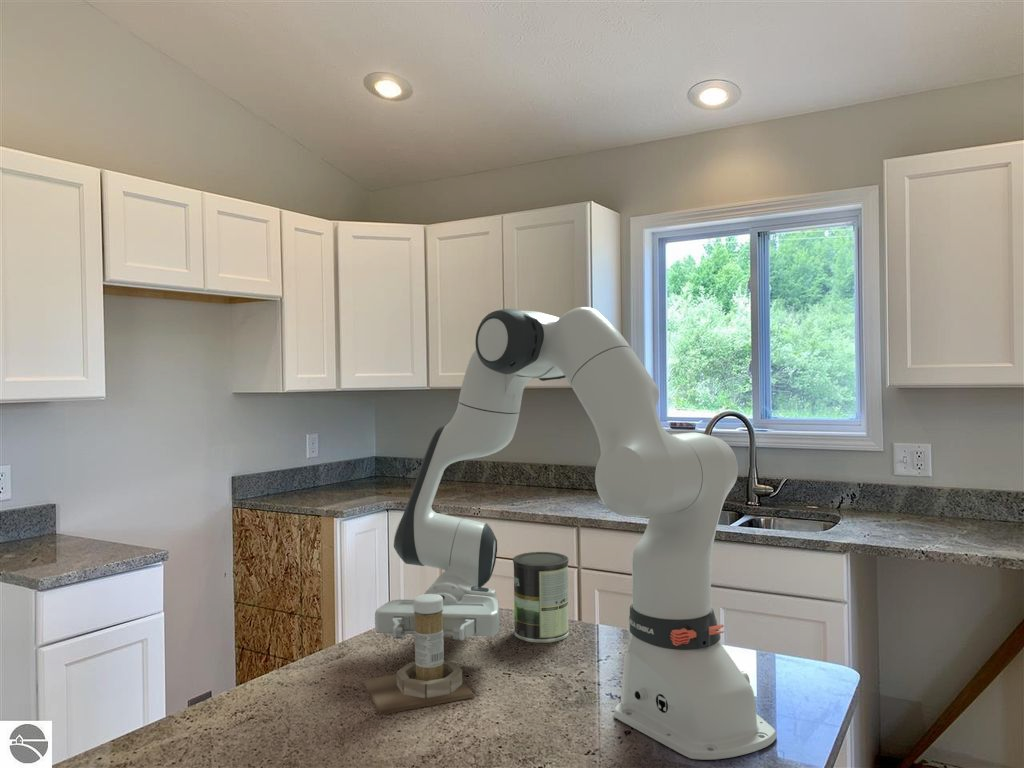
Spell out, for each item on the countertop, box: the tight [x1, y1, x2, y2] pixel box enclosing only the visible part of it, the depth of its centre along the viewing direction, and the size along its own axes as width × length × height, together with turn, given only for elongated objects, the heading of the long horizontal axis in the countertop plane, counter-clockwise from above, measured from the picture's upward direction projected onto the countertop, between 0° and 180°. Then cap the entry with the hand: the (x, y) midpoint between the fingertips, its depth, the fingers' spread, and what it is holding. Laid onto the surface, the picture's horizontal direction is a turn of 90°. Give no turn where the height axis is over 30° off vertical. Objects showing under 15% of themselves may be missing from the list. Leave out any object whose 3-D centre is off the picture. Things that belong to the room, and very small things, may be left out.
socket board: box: [362, 660, 474, 716], centre depth 115 cm, size 12×14×3 cm
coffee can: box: [512, 551, 570, 644], centre depth 139 cm, size 10×10×14 cm
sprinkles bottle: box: [412, 593, 445, 681], centre depth 115 cm, size 5×5×14 cm
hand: (427, 634), depth 114 cm, fingers open, 8 cm apart
